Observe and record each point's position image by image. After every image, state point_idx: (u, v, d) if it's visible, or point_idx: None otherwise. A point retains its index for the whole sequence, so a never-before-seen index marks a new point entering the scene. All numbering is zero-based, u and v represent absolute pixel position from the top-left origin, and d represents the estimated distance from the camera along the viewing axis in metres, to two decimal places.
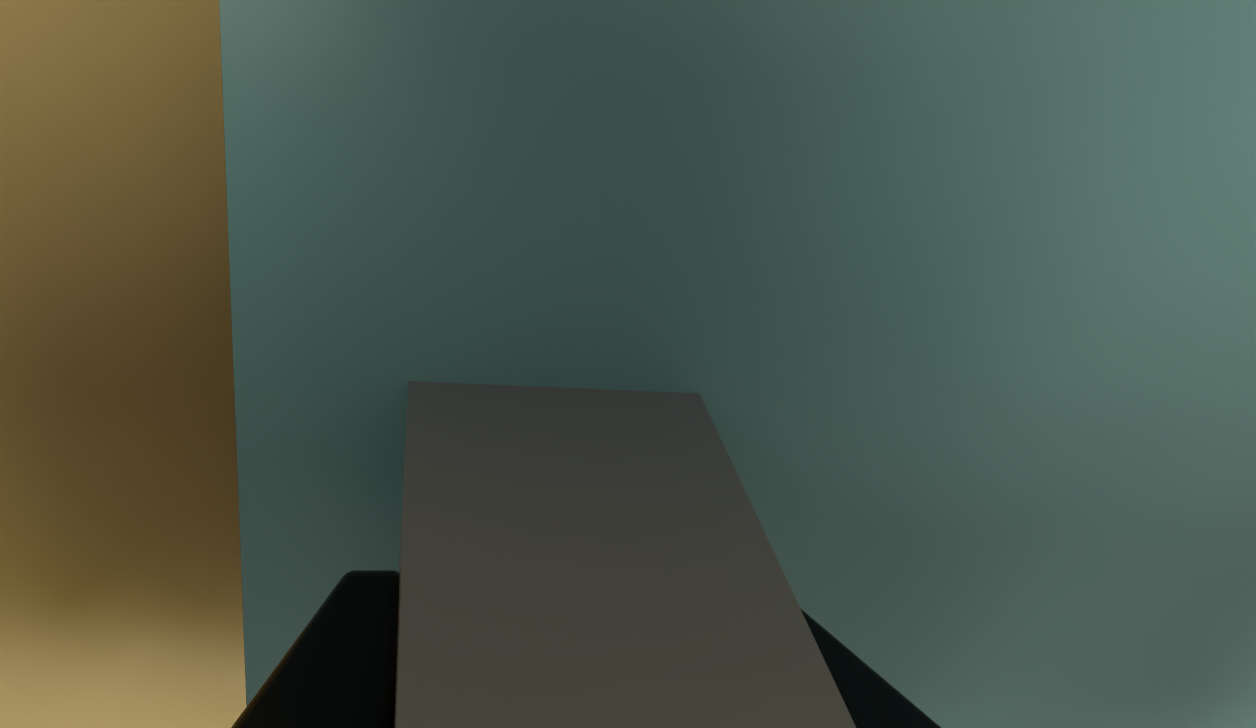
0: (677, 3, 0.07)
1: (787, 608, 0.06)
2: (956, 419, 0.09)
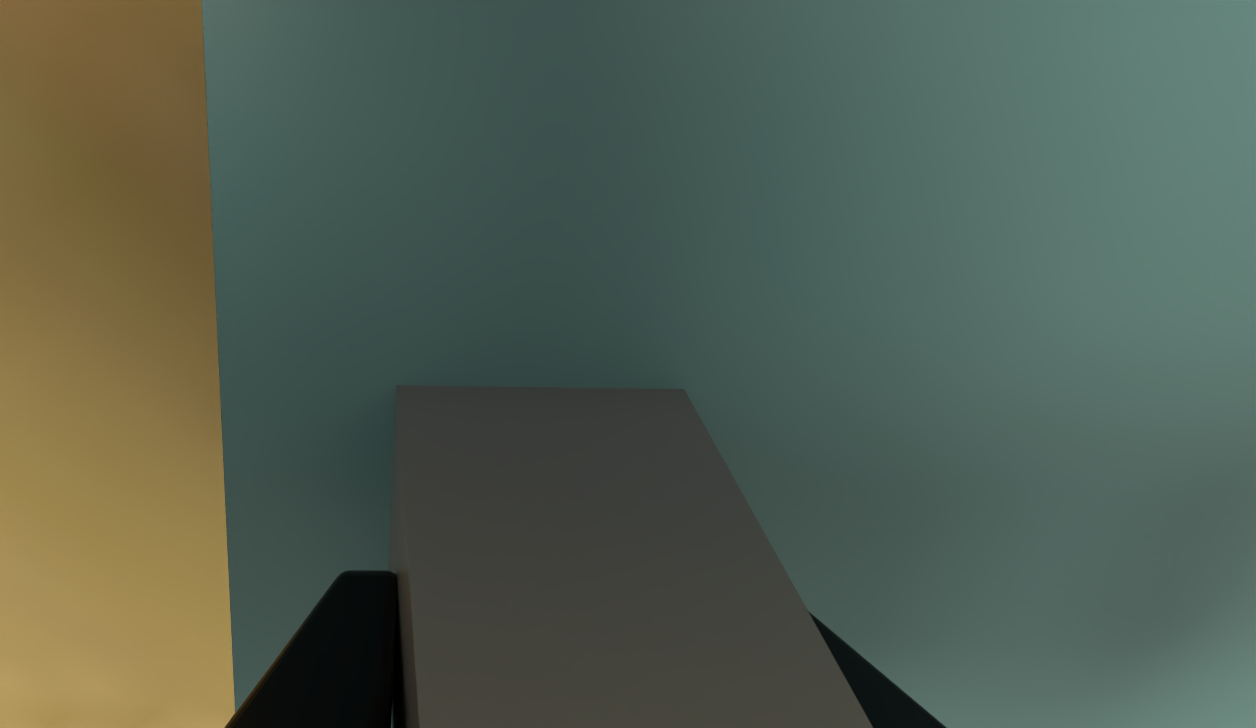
0: (660, 6, 0.07)
1: (788, 597, 0.06)
2: (931, 406, 0.09)
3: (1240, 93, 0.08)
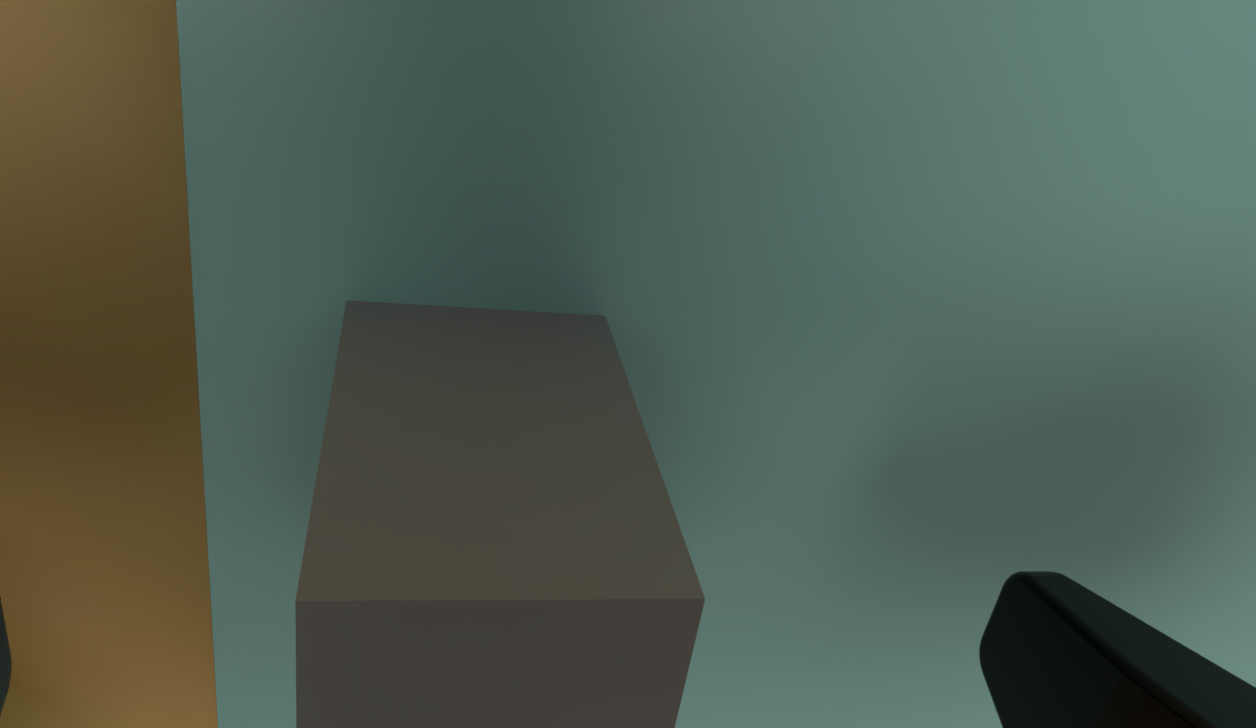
0: None
1: (649, 470, 0.07)
2: (838, 343, 0.10)
3: (1115, 58, 0.09)
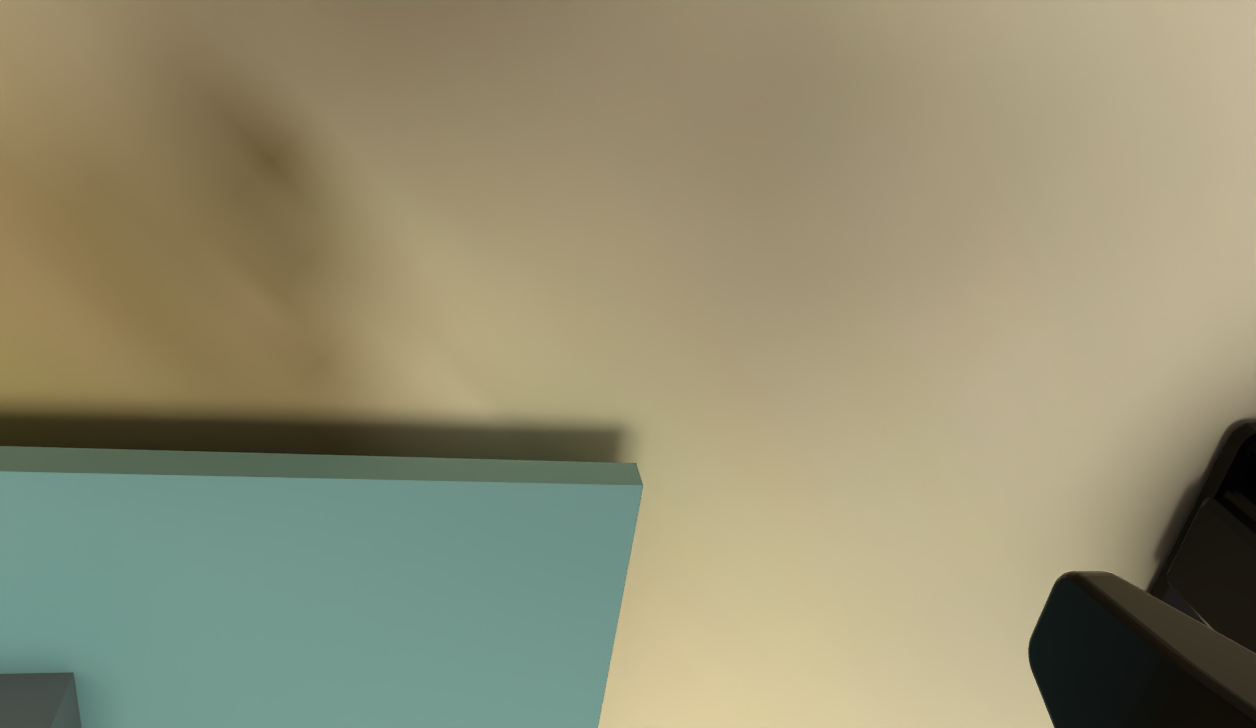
0: (11, 550, 0.18)
1: None
2: (206, 675, 0.20)
3: (305, 556, 0.19)
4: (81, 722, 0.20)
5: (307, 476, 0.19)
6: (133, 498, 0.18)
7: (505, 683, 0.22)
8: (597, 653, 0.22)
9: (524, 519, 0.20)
